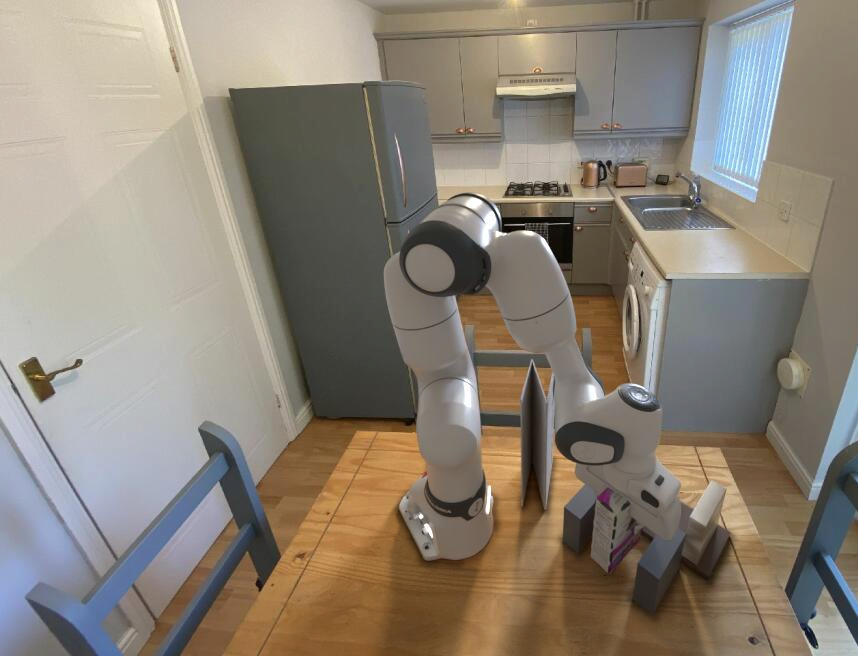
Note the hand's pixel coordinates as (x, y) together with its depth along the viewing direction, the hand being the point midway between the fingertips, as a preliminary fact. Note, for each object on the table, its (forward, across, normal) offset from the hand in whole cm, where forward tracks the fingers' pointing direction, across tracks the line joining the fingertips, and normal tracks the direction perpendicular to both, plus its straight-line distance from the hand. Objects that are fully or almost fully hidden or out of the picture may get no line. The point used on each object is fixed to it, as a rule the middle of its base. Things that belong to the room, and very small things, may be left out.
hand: (619, 519), depth 81 cm
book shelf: (+10, +3, +13) cm, 17 cm away
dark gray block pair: (+10, +1, 0) cm, 10 cm away
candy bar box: (+8, 0, 0) cm, 8 cm away
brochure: (+10, -22, +2) cm, 25 cm away
